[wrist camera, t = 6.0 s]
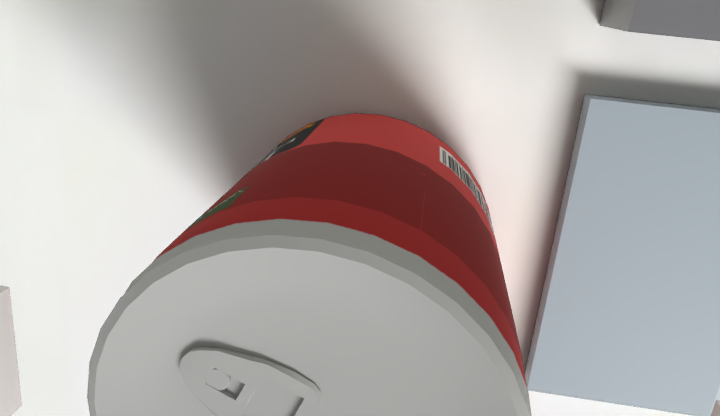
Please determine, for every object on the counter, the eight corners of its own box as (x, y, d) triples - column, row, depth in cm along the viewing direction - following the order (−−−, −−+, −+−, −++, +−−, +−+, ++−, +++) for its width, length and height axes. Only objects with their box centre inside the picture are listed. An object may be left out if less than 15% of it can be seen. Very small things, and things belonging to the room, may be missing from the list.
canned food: (278, 79, 20) (102, 174, 10) (523, 146, 20) (614, 318, 9) (236, 288, 23) (63, 539, 12) (452, 350, 22) (461, 659, 12)
